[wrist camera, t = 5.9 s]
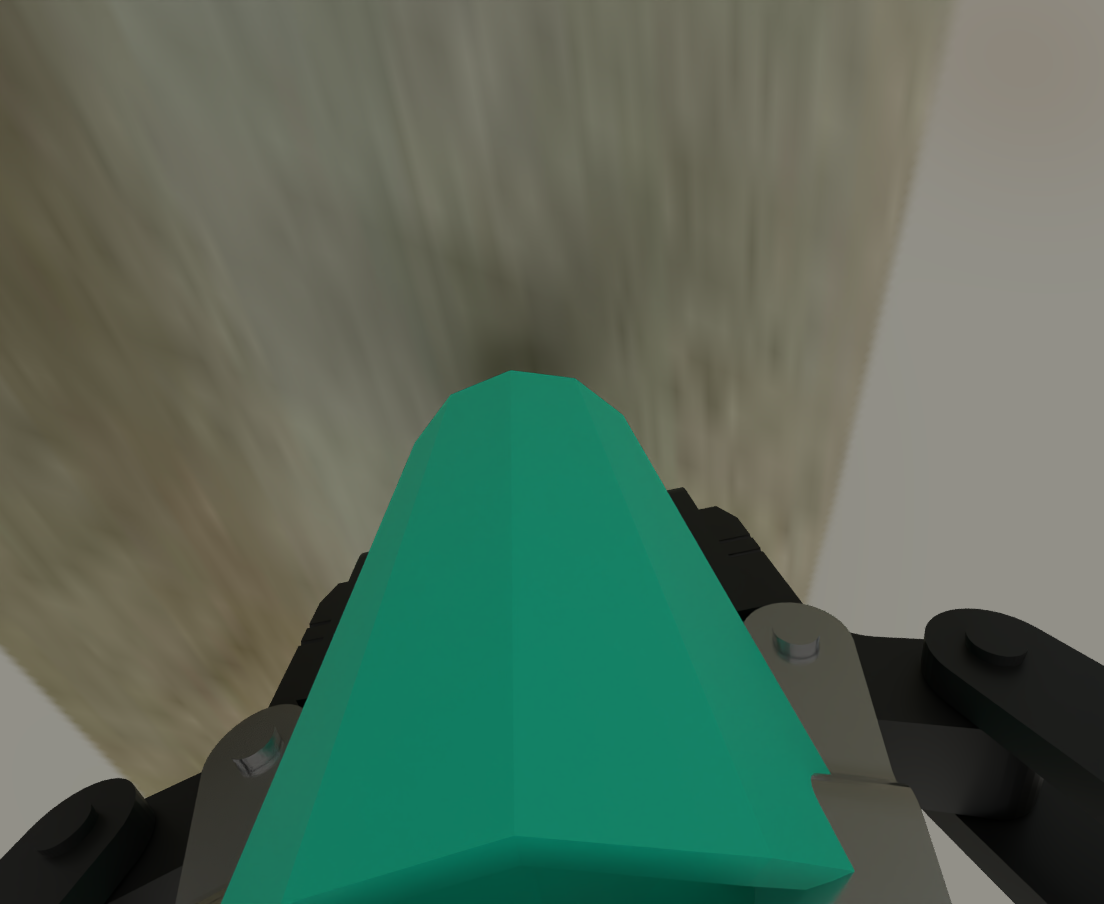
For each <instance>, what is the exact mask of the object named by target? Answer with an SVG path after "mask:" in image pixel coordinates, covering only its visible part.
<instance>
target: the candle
mask: <svg viewBox="0 0 1104 904" xmlns="http://www.w3.org/2000/svg"><path fill="white" fill-rule="evenodd" d="M814 773H823V774H831V773H830V772H829V770H828V768H827V767H826V765H825V763H824V761H823V760H822V758H821V756H820V754H819V753H818V751H817V749H816V748H815V746H814V744H813V742H812V741H811V739H810V737H809V735H808V734H807V732H806V730H805V729H804V727H803V725H802V723H801V722H800V720H799V718H798V716H797V715H796V713H795V711H794V710H793V708H792V706H791V704H790V703H789V701H788V699H787V697H786V696H785V694H784V692H783V691H782V689H781V687H780V685H779V684H778V682H777V680H776V678H775V677H774V675H773V673H772V672H771V670H770V668H769V666H768V665H767V663H766V661H765V659H764V658H763V656H762V654H761V653H760V651H759V649H758V647H757V646H756V644H755V642H754V640H753V639H752V637H751V635H750V634H749V632H748V630H747V628H746V627H745V625H744V623H743V621H742V620H741V618H740V616H739V615H738V613H737V611H736V609H735V608H734V606H733V604H732V602H731V601H730V599H729V597H728V596H727V594H726V592H725V590H724V589H723V587H722V585H721V583H720V582H719V580H718V578H717V577H716V575H715V573H714V571H713V570H712V568H711V566H710V564H709V563H708V561H707V559H706V558H705V556H704V554H703V552H702V551H701V549H700V547H699V545H698V544H697V542H696V540H695V539H694V537H693V535H692V533H691V532H690V530H689V528H688V526H687V525H686V523H685V521H684V520H683V518H682V516H681V514H680V513H679V511H678V509H677V507H676V506H675V504H674V502H673V501H672V499H671V497H670V495H669V494H668V492H667V490H666V489H665V487H664V485H663V483H662V482H661V480H660V478H659V476H658V475H657V473H656V471H655V470H654V468H653V466H652V464H651V463H650V461H649V459H648V457H647V456H646V454H645V452H644V451H643V449H642V447H641V445H640V444H639V442H638V440H637V438H636V437H635V435H634V433H633V432H632V430H631V428H630V426H629V425H628V423H627V421H626V419H625V418H624V416H623V415H622V414H621V413H620V412H618V411H617V410H616V409H614V408H613V407H612V406H611V405H609V404H608V403H607V402H605V401H604V400H603V399H601V398H600V397H599V396H598V395H596V394H595V393H594V392H592V391H591V390H590V389H588V388H587V387H586V386H584V385H583V384H582V383H581V382H579V381H578V380H577V379H575V378H569V377H561V376H553V375H545V374H537V373H529V372H521V371H513V370H510V371H507V372H505V373H502V374H500V375H498V376H495V377H493V378H490V379H488V380H485V381H483V382H480V383H478V384H476V385H473V386H471V387H468V388H466V389H463V390H461V391H458V392H456V393H454V394H451V395H450V396H449V398H448V399H447V400H446V402H445V403H444V404H443V406H442V407H441V408H440V410H439V411H438V412H437V414H436V415H435V416H434V418H433V419H432V420H431V422H430V423H429V425H428V426H427V427H426V429H425V430H424V431H423V433H422V434H421V435H420V437H419V438H418V439H417V441H416V442H415V444H414V446H413V449H412V451H411V453H410V456H409V458H408V460H407V463H406V465H405V468H404V470H403V472H402V475H401V477H400V479H399V482H398V484H397V487H396V489H395V491H394V494H393V496H392V498H391V501H390V503H389V506H388V508H387V510H386V513H385V515H384V517H383V520H382V522H381V525H380V527H379V529H378V532H377V534H376V536H375V539H374V541H373V543H372V546H371V548H370V551H369V553H368V555H367V558H366V560H365V562H364V565H363V567H362V570H361V572H360V574H359V577H358V579H357V581H356V584H355V586H354V589H353V591H352V593H351V596H350V598H349V600H348V603H347V605H346V608H345V610H344V612H343V615H342V617H341V619H340V622H339V624H338V627H337V629H336V631H335V634H334V636H333V638H332V641H331V643H330V646H329V648H328V650H327V653H326V655H325V657H324V660H323V662H322V665H321V667H320V669H319V672H318V674H317V676H316V679H315V681H314V684H313V686H312V688H311V691H310V693H309V695H308V698H307V700H306V702H305V705H304V707H303V710H302V712H301V714H300V717H299V719H298V721H297V724H296V726H295V729H294V731H293V733H292V736H291V738H290V740H289V743H288V745H287V748H286V750H285V752H284V755H283V757H282V759H281V762H280V764H279V767H278V769H277V771H276V774H275V776H274V778H273V781H272V783H271V786H270V788H269V790H268V793H267V795H266V797H265V800H264V802H263V805H262V807H261V809H260V812H259V814H258V816H257V819H256V821H255V824H254V826H253V828H252V831H251V833H250V835H249V838H248V840H247V842H246V845H245V847H244V850H243V852H242V854H241V857H240V859H239V861H238V864H237V866H236V869H235V871H234V873H233V876H232V878H231V880H230V883H229V885H228V888H227V890H226V892H225V895H224V897H223V899H222V902H221V904H755V891H754V887H769V888H784V889H799V890H807V889H810V888H813V887H816V886H819V885H822V884H825V883H828V882H831V881H834V880H836V879H838V878H841V877H843V876H845V875H847V874H850V873H852V872H854V871H855V870H854V868H853V867H852V865H851V863H850V861H849V859H848V857H847V855H846V853H845V851H844V850H843V848H842V846H841V844H840V842H839V840H838V838H837V836H836V834H835V833H834V831H833V829H832V827H831V825H830V823H829V821H828V819H827V818H826V816H825V814H824V812H823V810H822V808H821V806H820V804H819V802H818V800H817V798H816V796H815V794H814V791H813V788H812V784H811V776H812V774H814Z"/></svg>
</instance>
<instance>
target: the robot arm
mask: <svg viewBox="0 0 1104 904" xmlns="http://www.w3.org/2000/svg"><path fill="white" fill-rule="evenodd" d="M667 492H668V494H669V495H670V497H671V499H672V501H673V502H674V504H675V506H676V507H677V509H678V511H679V513H680V514H681V516H682V518H683V520H684V521H685V523H686V525H687V526H688V528H689V530H690V532H691V533H692V535H693V537H694V539H695V540H696V542H697V544H698V545H699V547H700V549H701V551H702V552H703V554H704V556H705V558H706V559H707V561H708V563H709V564H710V566H711V568H712V570H713V571H714V573H715V575H716V577H717V578H718V580H719V582H720V583H721V585H722V587H723V589H724V590H725V592H726V594H727V596H728V597H729V599H730V601H731V602H732V604H733V606H734V608H735V609H736V611H737V613H738V615H739V616H740V618H741V620H742V621H743V623H744V625H745V627H746V628H747V630H748V632H749V634H750V635H751V637H752V639H753V640H754V642H755V644H756V646H757V647H758V649H759V651H760V653H761V654H762V656H763V658H764V659H765V661H766V663H767V665H768V666H769V668H770V670H771V672H772V673H773V675H774V677H775V678H776V680H777V682H778V684H779V685H780V687H781V689H782V691H783V692H784V694H785V696H786V697H787V699H788V701H789V703H790V704H791V706H792V708H793V710H794V711H795V713H796V715H797V716H798V718H799V720H800V722H801V723H802V725H803V727H804V729H805V730H806V732H807V734H808V735H809V737H810V739H811V741H812V742H813V744H814V746H815V748H816V749H817V751H818V753H819V754H820V756H821V758H822V760H823V761H824V763H825V765H826V767H827V768H828V770H829V772H830V773H831V774H823V773H814V774H812V776H811V784H812V788H813V791H814V794H815V796H816V798H817V800H818V802H819V804H820V806H821V808H822V810H823V812H824V814H825V816H826V818H827V819H828V821H829V823H830V825H831V827H832V829H833V831H834V833H835V834H836V836H837V838H838V840H839V842H840V844H841V846H842V848H843V850H844V851H845V853H846V855H847V857H848V859H849V861H850V863H851V865H852V867H853V868H854V870H855V871H854V872H852V873H850V874H847V875H845V876H843V877H841V878H838V879H836V880H834V881H831V882H828V883H825V884H822V885H819V886H816V887H813V888H810V889H807V890H799V889H784V888H769V887H754V891H755V904H952V903H951V900H950V897H949V894H948V891H947V888H946V884H945V881H944V878H943V875H942V872H941V869H940V866H939V863H938V860H937V856H936V853H935V850H934V847H933V844H932V841H931V838H930V835H929V832H928V829H927V826H926V822H925V819H924V816H923V814H922V811H921V809H923V811H924V812H925V813H926V814H927V815H928V816H929V817H930V818H931V819H932V820H933V821H934V822H935V823H936V824H937V825H938V826H939V827H940V828H941V829H942V830H943V831H944V832H945V833H946V834H947V835H948V836H949V837H950V838H951V839H952V840H953V841H954V842H955V843H956V844H957V845H958V846H959V848H961V849H962V850H963V851H964V853H965V854H966V855H967V856H968V857H969V858H970V859H971V860H972V861H973V862H974V863H975V864H976V865H977V866H978V867H979V868H980V869H981V870H982V871H983V872H984V873H985V874H986V875H987V876H988V877H989V878H990V879H991V880H992V881H993V882H994V883H995V884H996V885H997V886H998V887H999V888H1000V889H1001V890H1002V891H1003V892H1004V893H1005V894H1006V895H1007V896H1008V897H1009V898H1010V899H1011V900H1012V901H1013V902H1014V903H1015V904H1104V666H1103V665H1101V664H1100V663H1098V662H1096V661H1094V660H1093V659H1091V658H1089V657H1087V656H1086V655H1084V654H1082V653H1080V652H1079V651H1077V650H1075V649H1073V648H1071V647H1070V646H1068V645H1066V644H1065V643H1063V642H1061V641H1059V640H1057V639H1056V638H1054V637H1052V636H1050V635H1049V634H1047V633H1045V632H1043V631H1042V630H1040V629H1038V628H1036V627H1034V626H1032V625H1030V624H1028V623H1026V622H1024V621H1022V620H1019V619H1017V618H1014V617H1011V616H1008V615H1005V614H1002V613H998V612H993V611H988V610H981V609H955V610H949V611H946V612H943V613H940V614H938V615H936V616H935V617H933V618H932V619H931V620H930V621H929V622H928V624H927V626H926V628H925V634H924V639H909V638H889V637H888V638H887V637H873V636H864V635H858V634H854V633H850V632H849V631H848V629H847V628H846V627H845V626H844V625H843V624H842V622H841V621H839V620H838V619H837V618H835V617H834V616H832V615H831V614H829V613H827V612H825V611H823V610H821V609H818V608H816V607H813V606H809V605H805V604H803V603H802V602H801V601H800V599H799V598H798V597H797V595H796V594H795V593H794V592H793V590H792V589H791V588H790V586H789V585H788V584H787V582H786V581H785V580H784V578H783V577H782V576H781V574H780V573H779V572H778V571H777V569H776V568H775V567H774V565H773V564H772V563H771V561H770V560H769V559H768V557H767V556H766V555H765V553H764V552H761V549H760V547H759V546H758V544H757V543H756V542H755V540H754V539H753V538H751V537H750V534H749V532H748V531H747V530H746V529H745V527H744V526H743V525H742V523H741V522H740V521H739V519H738V518H737V517H735V516H733V515H731V514H730V513H728V512H726V511H724V510H722V509H720V508H719V507H717V506H714V507H709V508H705V509H700V510H699V509H698V508H697V506H696V505H695V503H694V502H693V500H692V499H691V497H690V496H689V494H688V493H687V491H686V490H685V488H683V487H681V488H677V489H672V490H667ZM368 553H369V552H365V553H362V554H361V555H360V557H359V559H358V561H357V563H356V565H355V568H354V570H353V572H352V574H351V577H350V579H349V581H348V582H344V583H339V584H338V585H337V586H336V587H335V588H334V589H333V590H332V591H331V592H330V593H329V594H328V595H327V596H326V597H325V598H324V599H323V600H322V601H321V602H320V604H319V606H318V608H317V610H316V612H315V614H314V616H313V618H312V620H311V622H310V628H307V630H306V632H305V634H304V636H303V638H302V640H301V646H298V648H297V650H296V652H295V654H294V656H293V659H292V661H291V663H290V665H289V667H288V669H287V671H286V673H285V675H284V677H283V679H282V681H281V683H280V685H279V687H278V689H277V691H276V693H275V695H274V697H273V699H272V701H271V703H270V705H269V707H268V708H266V709H264V710H261V711H259V712H257V713H255V714H253V715H251V716H250V717H248V718H246V719H245V720H243V721H242V722H241V723H239V724H238V725H236V726H235V727H234V728H233V729H232V730H231V731H229V732H228V733H227V734H226V735H225V736H224V737H223V738H222V739H221V740H220V741H219V743H218V744H217V745H216V746H215V748H214V749H213V750H212V752H211V753H210V755H209V756H208V758H207V760H206V762H205V764H204V767H203V770H202V772H201V773H199V774H197V775H195V776H192V777H190V778H188V779H186V780H184V781H182V782H180V783H177V784H175V785H173V786H171V787H169V788H167V789H165V790H163V791H160V792H158V793H156V794H154V795H152V796H150V797H148V798H145V799H144V797H143V796H142V795H141V794H140V792H139V791H138V790H137V789H136V787H135V786H134V785H133V784H132V782H130V781H128V780H127V779H122V778H115V779H109V780H104V781H101V782H98V783H95V784H93V785H91V786H89V787H86V788H84V789H82V790H81V791H79V792H77V793H75V794H73V795H72V796H70V797H69V798H67V799H66V800H64V801H63V802H61V803H60V804H58V805H57V806H56V807H54V808H53V809H52V810H50V811H49V812H48V813H47V814H46V815H45V816H44V817H42V818H41V819H40V820H39V821H38V822H37V823H36V824H35V825H34V826H33V827H32V828H30V829H29V830H28V831H27V833H26V834H25V835H24V836H23V837H22V838H21V839H20V840H19V841H18V842H17V843H16V844H15V845H14V846H13V847H12V848H11V849H10V850H9V851H8V852H7V853H6V854H5V855H4V856H3V857H2V858H1V859H0V904H221V902H222V899H223V897H224V895H225V892H226V890H227V888H228V885H229V883H230V880H231V878H232V876H233V873H234V871H235V869H236V866H237V864H238V861H239V859H240V857H241V854H242V852H243V850H244V847H245V845H246V842H247V840H248V838H249V835H250V833H251V831H252V828H253V826H254V824H255V821H256V819H257V816H258V814H259V812H260V809H261V807H262V805H263V802H264V800H265V797H266V795H267V793H268V790H269V788H270V786H271V783H272V781H273V778H274V776H275V774H276V771H277V769H278V767H279V764H280V762H281V759H282V757H283V755H284V752H285V750H286V748H287V745H288V743H289V740H290V738H291V736H292V733H293V731H294V729H295V726H296V724H297V721H298V719H299V717H300V714H301V712H302V710H303V707H304V705H305V702H306V700H307V698H308V695H309V693H310V691H311V688H312V686H313V684H314V681H315V679H316V676H317V674H318V672H319V669H320V667H321V665H322V662H323V660H324V657H325V655H326V653H327V650H328V648H329V646H330V643H331V641H332V638H333V636H334V634H335V631H336V629H337V627H338V624H339V622H340V619H341V617H342V615H343V612H344V610H345V608H346V605H347V603H348V600H349V598H350V596H351V593H352V591H353V589H354V586H355V584H356V581H357V579H358V577H359V574H360V572H361V570H362V567H363V565H364V562H365V560H366V558H367V555H368Z"/></svg>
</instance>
